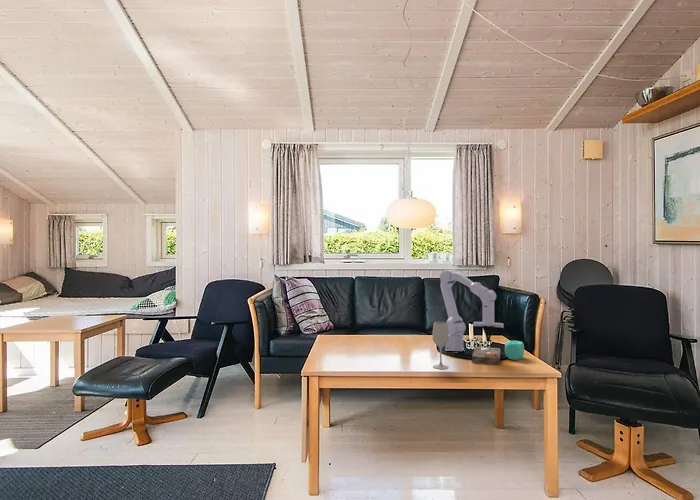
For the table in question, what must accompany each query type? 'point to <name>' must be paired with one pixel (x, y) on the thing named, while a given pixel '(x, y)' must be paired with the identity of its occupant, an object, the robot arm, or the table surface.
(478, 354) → the button panel
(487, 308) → the robot arm
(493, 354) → the terracotta button
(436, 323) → the wineglass
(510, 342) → the decorative dice
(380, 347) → the table surface
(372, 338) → the table surface
